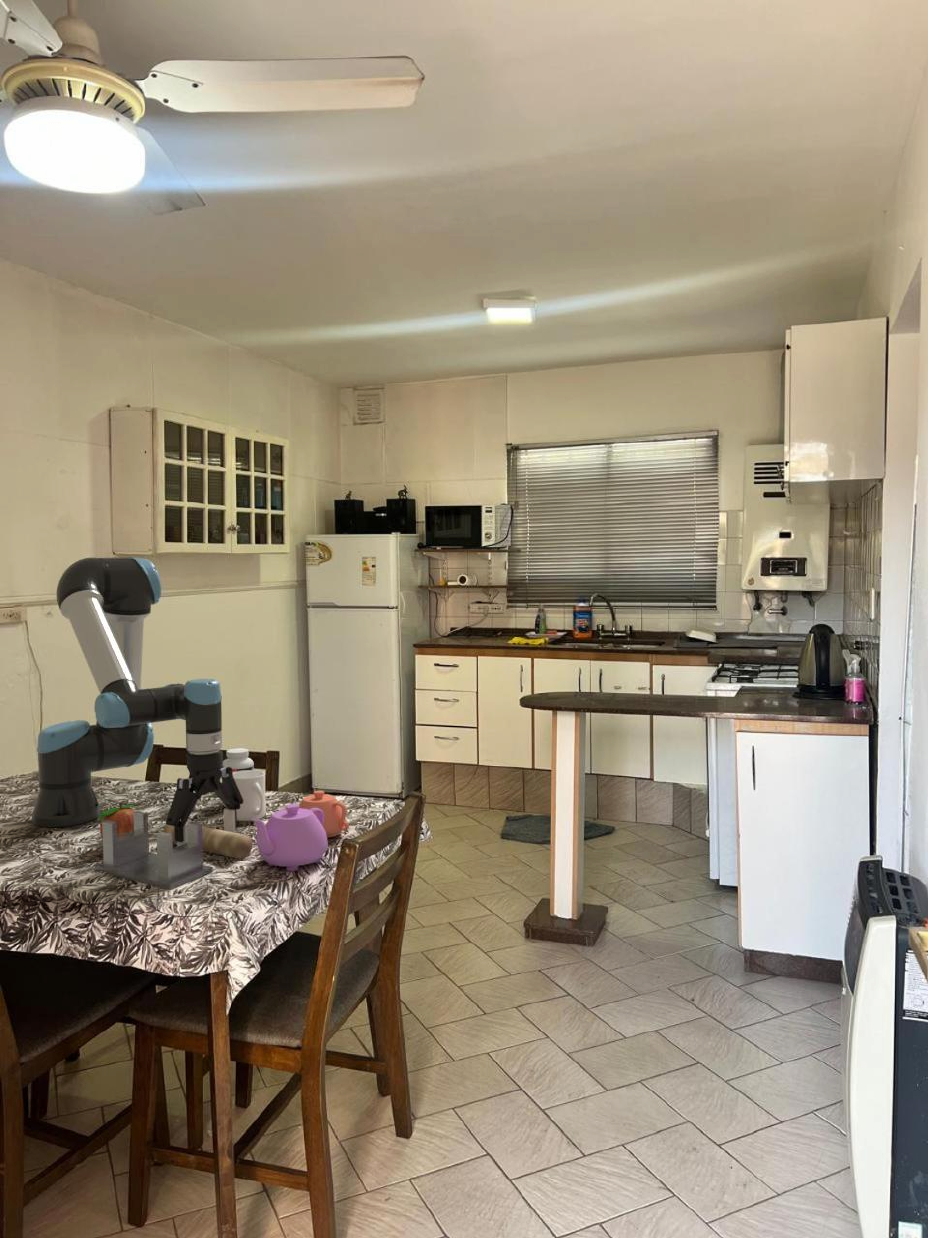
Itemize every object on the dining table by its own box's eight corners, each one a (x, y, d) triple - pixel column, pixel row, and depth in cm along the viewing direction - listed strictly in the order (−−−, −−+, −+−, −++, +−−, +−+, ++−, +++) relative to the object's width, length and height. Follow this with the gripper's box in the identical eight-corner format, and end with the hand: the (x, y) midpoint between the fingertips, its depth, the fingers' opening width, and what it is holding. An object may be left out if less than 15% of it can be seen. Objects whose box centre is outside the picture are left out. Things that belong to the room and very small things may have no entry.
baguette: (163, 846, 193) (162, 824, 193) (180, 839, 198) (180, 818, 197) (235, 862, 182) (235, 839, 182) (252, 855, 187) (252, 832, 186)
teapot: (276, 885, 168) (275, 824, 168) (229, 870, 177) (228, 811, 176) (348, 857, 184) (347, 800, 184) (302, 844, 193) (301, 790, 192)
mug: (245, 827, 206) (244, 783, 205) (223, 816, 215) (222, 773, 214) (278, 820, 211) (277, 777, 210) (255, 810, 220) (254, 768, 220)
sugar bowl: (313, 824, 208) (312, 782, 207) (363, 832, 202) (362, 789, 201) (281, 839, 197) (280, 795, 196) (332, 847, 191) (331, 802, 190)
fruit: (150, 846, 192) (149, 802, 192) (108, 857, 185) (106, 811, 185) (133, 838, 198) (132, 794, 198) (91, 847, 192) (90, 803, 191)
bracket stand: (94, 870, 177) (93, 822, 177) (138, 854, 187) (137, 808, 186) (169, 889, 166) (168, 838, 166) (212, 872, 176) (211, 823, 175)
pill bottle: (221, 810, 220) (220, 754, 219) (222, 802, 227) (221, 748, 226) (254, 808, 221) (253, 752, 221) (254, 800, 229) (253, 746, 228)
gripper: (171, 764, 176) (174, 866, 177) (257, 742, 197) (260, 833, 199) (146, 760, 180) (149, 861, 181) (233, 739, 201) (235, 829, 202)
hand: (207, 846), depth 190 cm, fingers open, 13 cm apart
